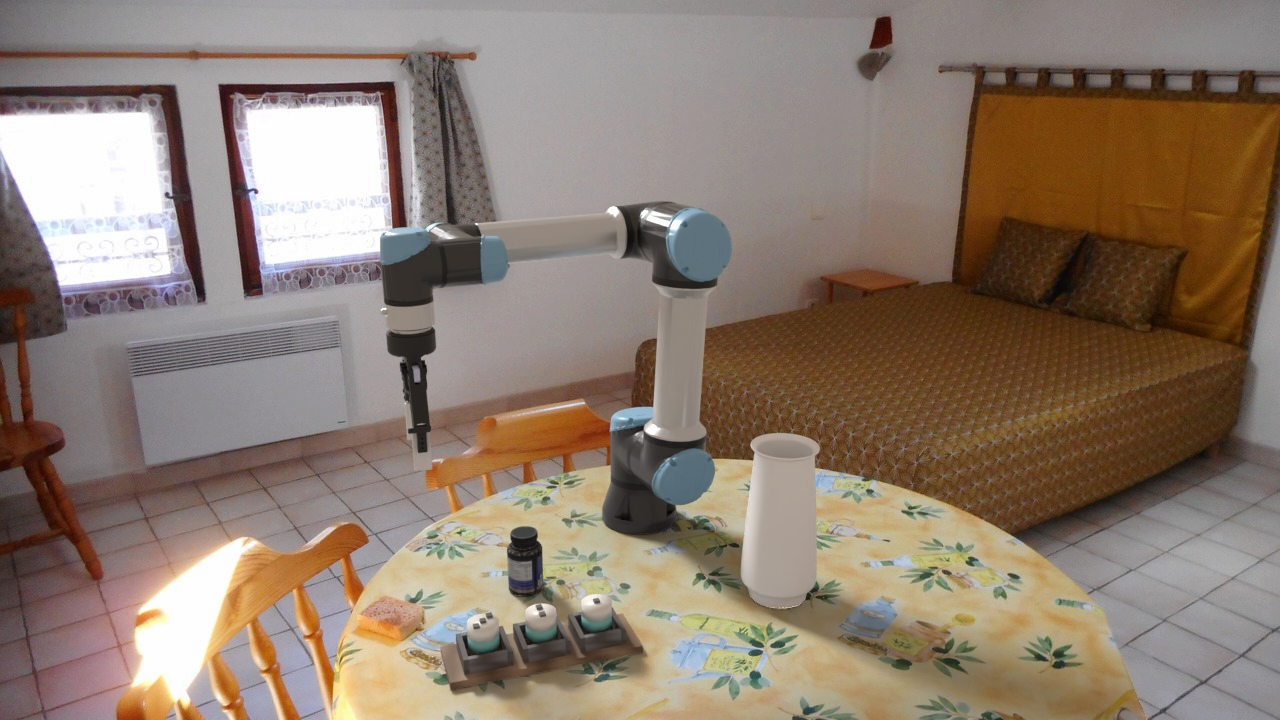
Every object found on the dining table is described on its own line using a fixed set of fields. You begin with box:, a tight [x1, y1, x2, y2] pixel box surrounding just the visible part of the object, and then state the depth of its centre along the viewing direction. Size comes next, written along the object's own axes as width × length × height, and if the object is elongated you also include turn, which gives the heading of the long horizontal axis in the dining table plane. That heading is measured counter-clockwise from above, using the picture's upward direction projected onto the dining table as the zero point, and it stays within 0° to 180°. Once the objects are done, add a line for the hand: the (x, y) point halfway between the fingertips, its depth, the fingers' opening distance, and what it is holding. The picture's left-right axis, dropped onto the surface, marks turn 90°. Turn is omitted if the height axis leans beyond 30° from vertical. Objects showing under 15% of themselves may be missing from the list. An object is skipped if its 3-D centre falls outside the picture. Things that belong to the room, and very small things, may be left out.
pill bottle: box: [506, 525, 544, 597], centre depth 171 cm, size 6×6×11 cm
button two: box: [524, 603, 557, 643], centre depth 152 cm, size 5×5×4 cm
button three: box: [466, 612, 500, 654], centre depth 149 cm, size 5×5×4 cm
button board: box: [439, 606, 644, 691], centre depth 153 cm, size 30×10×4 cm, turn 109°
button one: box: [580, 593, 613, 633], centre depth 155 cm, size 5×5×4 cm
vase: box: [740, 432, 821, 608], centre depth 167 cm, size 13×13×28 cm
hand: (419, 453), depth 160 cm, fingers open, 13 cm apart
